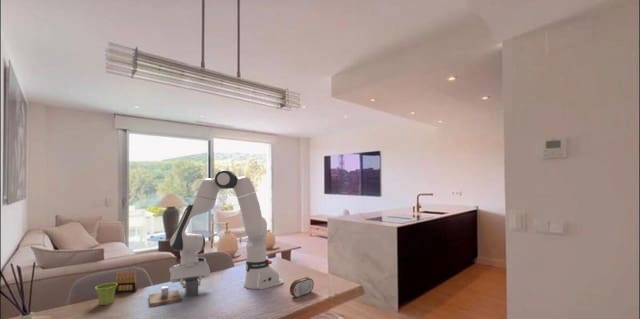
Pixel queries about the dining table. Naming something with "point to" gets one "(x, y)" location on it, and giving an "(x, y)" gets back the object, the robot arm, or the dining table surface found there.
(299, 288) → the tin
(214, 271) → the dining table surface
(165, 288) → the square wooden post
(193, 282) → the grey square block
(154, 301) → the base plate
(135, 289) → the brown slatted box
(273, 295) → the dining table surface
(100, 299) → the plant pot
